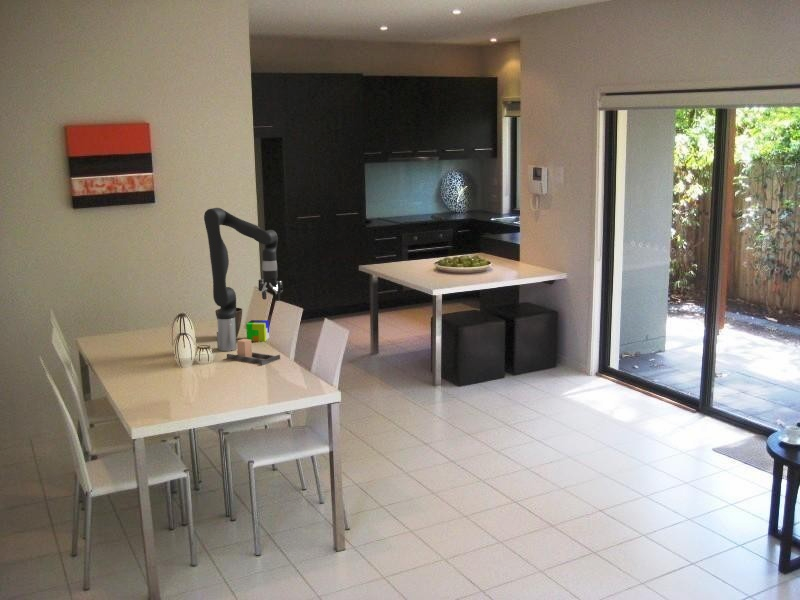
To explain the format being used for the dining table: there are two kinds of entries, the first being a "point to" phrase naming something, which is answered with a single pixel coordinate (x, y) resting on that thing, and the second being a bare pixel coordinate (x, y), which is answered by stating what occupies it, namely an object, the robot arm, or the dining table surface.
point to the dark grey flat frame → (253, 358)
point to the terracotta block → (244, 347)
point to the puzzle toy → (258, 330)
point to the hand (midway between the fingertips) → (271, 300)
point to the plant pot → (236, 319)
